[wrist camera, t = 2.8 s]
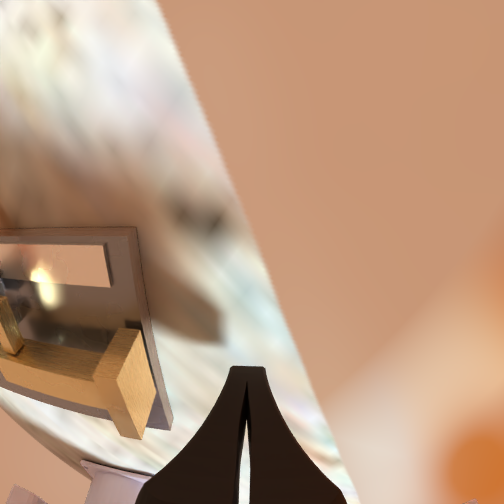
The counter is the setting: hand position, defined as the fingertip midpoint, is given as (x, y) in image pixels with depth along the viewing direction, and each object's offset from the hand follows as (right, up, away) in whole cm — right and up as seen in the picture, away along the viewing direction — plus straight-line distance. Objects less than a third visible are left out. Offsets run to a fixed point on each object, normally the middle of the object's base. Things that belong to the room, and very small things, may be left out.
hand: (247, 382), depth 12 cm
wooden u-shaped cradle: (-8, +1, 0) cm, 9 cm away
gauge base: (-12, +1, +2) cm, 13 cm away
